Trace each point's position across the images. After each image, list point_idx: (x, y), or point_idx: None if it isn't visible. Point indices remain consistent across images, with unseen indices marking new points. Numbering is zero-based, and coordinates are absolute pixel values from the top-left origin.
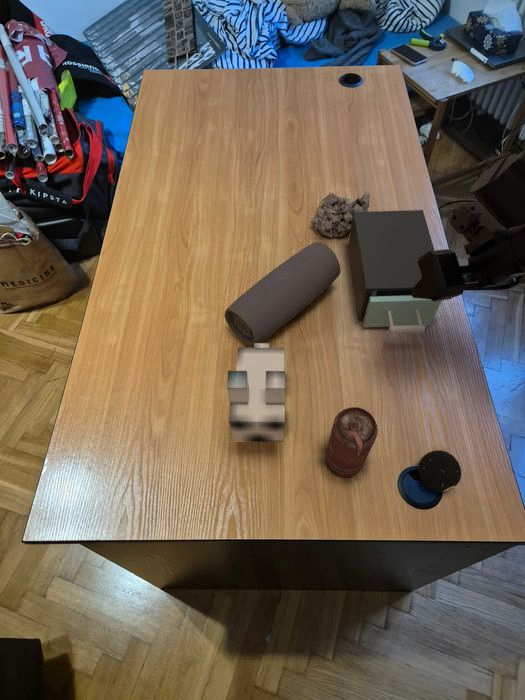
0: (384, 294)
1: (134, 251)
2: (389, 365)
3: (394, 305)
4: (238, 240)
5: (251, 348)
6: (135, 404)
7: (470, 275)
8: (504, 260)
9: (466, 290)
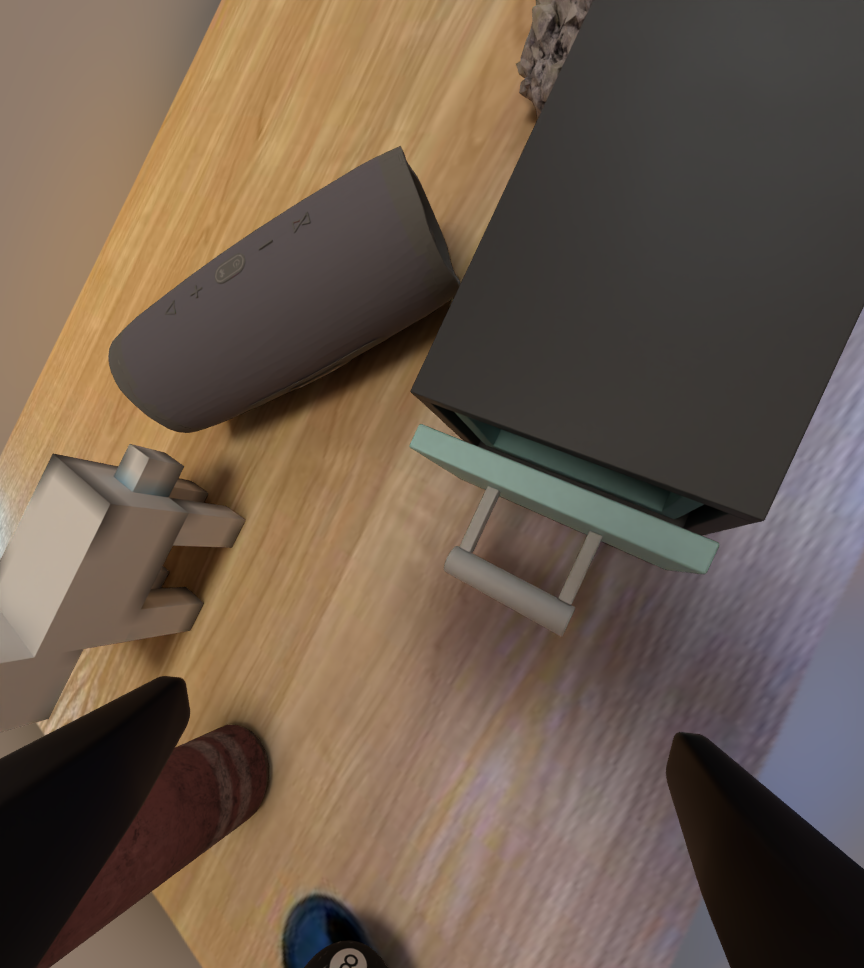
0: None
1: (186, 139)
2: (463, 619)
3: (499, 488)
4: (347, 126)
5: (67, 469)
6: (68, 455)
7: (848, 964)
8: None
9: (710, 912)
